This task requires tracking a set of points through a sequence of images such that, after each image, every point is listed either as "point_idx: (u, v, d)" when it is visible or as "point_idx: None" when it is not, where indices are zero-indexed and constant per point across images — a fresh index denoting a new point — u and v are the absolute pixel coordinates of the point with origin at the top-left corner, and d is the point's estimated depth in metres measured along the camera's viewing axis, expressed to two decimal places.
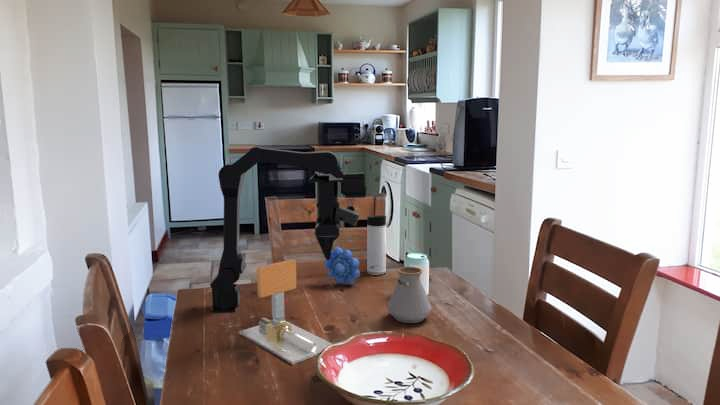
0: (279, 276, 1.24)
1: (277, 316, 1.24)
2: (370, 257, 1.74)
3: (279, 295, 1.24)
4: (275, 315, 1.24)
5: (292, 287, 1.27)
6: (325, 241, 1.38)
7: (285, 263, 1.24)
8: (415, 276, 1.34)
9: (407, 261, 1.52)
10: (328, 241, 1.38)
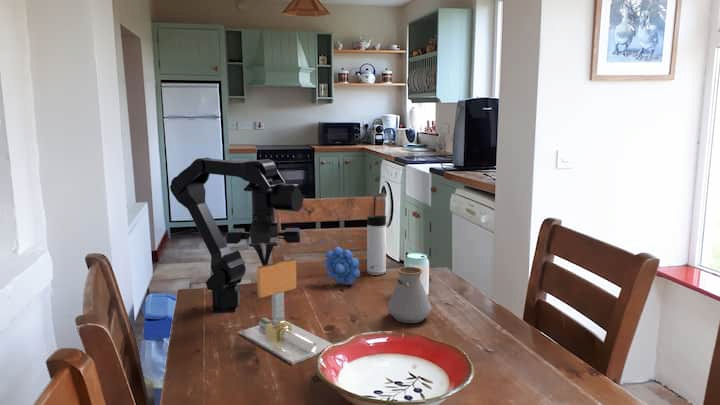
0: (279, 276, 1.24)
1: (277, 316, 1.24)
2: (370, 257, 1.74)
3: (279, 295, 1.24)
4: (275, 315, 1.24)
5: (292, 287, 1.27)
6: None
7: (285, 263, 1.24)
8: (415, 276, 1.34)
9: (407, 261, 1.52)
10: None
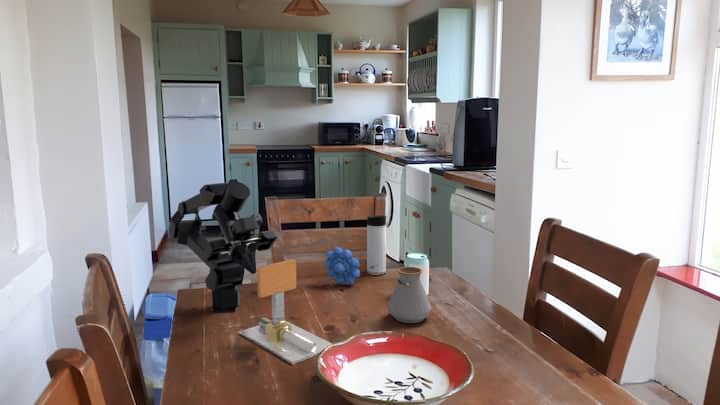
0: (279, 276, 1.24)
1: (277, 316, 1.24)
2: (370, 257, 1.74)
3: (279, 295, 1.24)
4: (275, 315, 1.24)
5: (292, 287, 1.27)
6: (240, 258, 1.33)
7: (285, 263, 1.24)
8: (415, 276, 1.34)
9: (407, 261, 1.52)
10: (242, 256, 1.33)
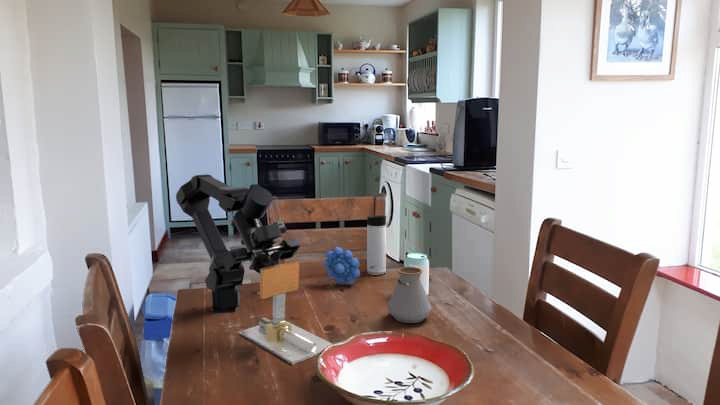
0: (282, 278, 1.23)
1: (277, 317, 1.24)
2: (370, 257, 1.74)
3: (281, 296, 1.24)
4: (276, 315, 1.24)
5: (294, 288, 1.26)
6: (263, 267, 1.26)
7: (288, 265, 1.23)
8: (415, 276, 1.34)
9: (407, 261, 1.52)
10: (264, 266, 1.25)
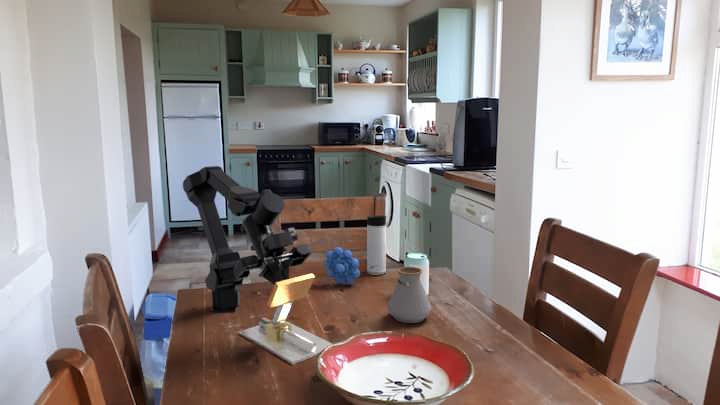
0: (294, 290, 1.20)
1: (278, 320, 1.24)
2: (370, 257, 1.74)
3: (287, 304, 1.22)
4: (278, 319, 1.24)
5: (302, 297, 1.24)
6: (273, 275, 1.23)
7: (304, 280, 1.19)
8: (415, 276, 1.34)
9: (407, 261, 1.52)
10: (274, 274, 1.22)
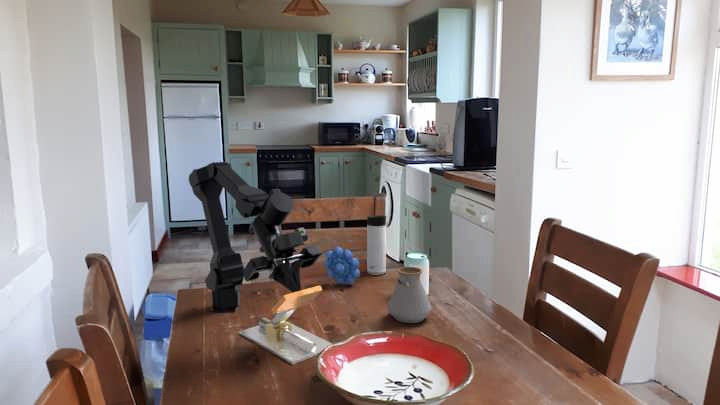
0: (299, 301, 1.19)
1: (278, 321, 1.24)
2: (370, 257, 1.74)
3: (290, 311, 1.21)
4: (278, 321, 1.23)
5: (305, 304, 1.23)
6: (283, 277, 1.19)
7: (311, 293, 1.18)
8: (415, 276, 1.34)
9: (407, 261, 1.52)
10: (285, 275, 1.19)
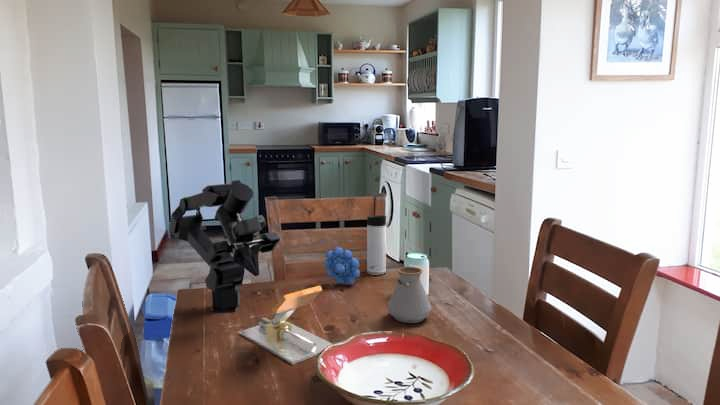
0: (299, 301, 1.19)
1: (278, 321, 1.24)
2: (370, 257, 1.74)
3: (290, 311, 1.21)
4: (278, 321, 1.23)
5: (305, 304, 1.23)
6: (243, 260, 1.32)
7: (311, 293, 1.18)
8: (415, 276, 1.34)
9: (407, 261, 1.52)
10: (244, 258, 1.32)
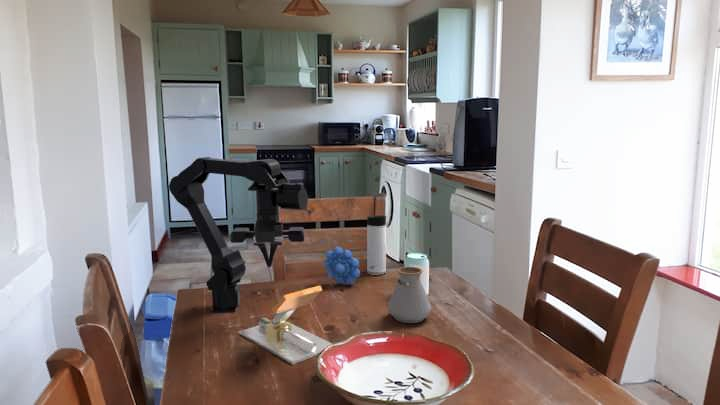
0: (299, 301, 1.19)
1: (278, 321, 1.24)
2: (370, 257, 1.74)
3: (290, 311, 1.21)
4: (278, 321, 1.23)
5: (305, 304, 1.23)
6: None
7: (311, 293, 1.18)
8: (415, 276, 1.34)
9: (407, 261, 1.52)
10: None
